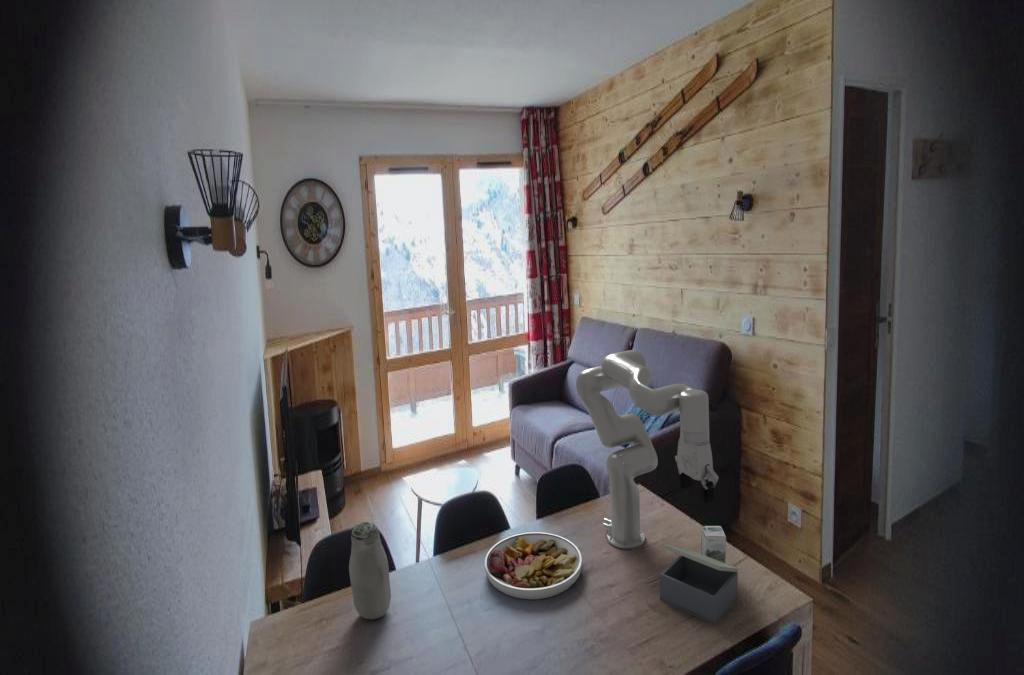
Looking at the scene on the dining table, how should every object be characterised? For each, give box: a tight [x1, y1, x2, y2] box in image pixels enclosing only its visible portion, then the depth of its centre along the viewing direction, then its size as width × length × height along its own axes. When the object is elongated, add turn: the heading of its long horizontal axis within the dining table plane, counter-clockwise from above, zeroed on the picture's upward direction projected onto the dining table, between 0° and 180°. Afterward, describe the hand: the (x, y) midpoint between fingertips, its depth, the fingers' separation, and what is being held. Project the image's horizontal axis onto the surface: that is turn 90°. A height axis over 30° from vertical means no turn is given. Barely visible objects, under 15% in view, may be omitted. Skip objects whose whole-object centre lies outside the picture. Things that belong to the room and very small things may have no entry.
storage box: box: [659, 554, 739, 626], centre depth 153 cm, size 16×14×8 cm
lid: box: [662, 544, 739, 573], centre depth 153 cm, size 16×14×1 cm
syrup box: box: [700, 525, 727, 563], centre depth 163 cm, size 6×6×14 cm
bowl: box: [484, 531, 583, 600], centre depth 170 cm, size 30×30×8 cm
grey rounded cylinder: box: [348, 521, 392, 620], centre depth 153 cm, size 10×10×28 cm
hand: (696, 494), depth 153 cm, fingers open, 9 cm apart
